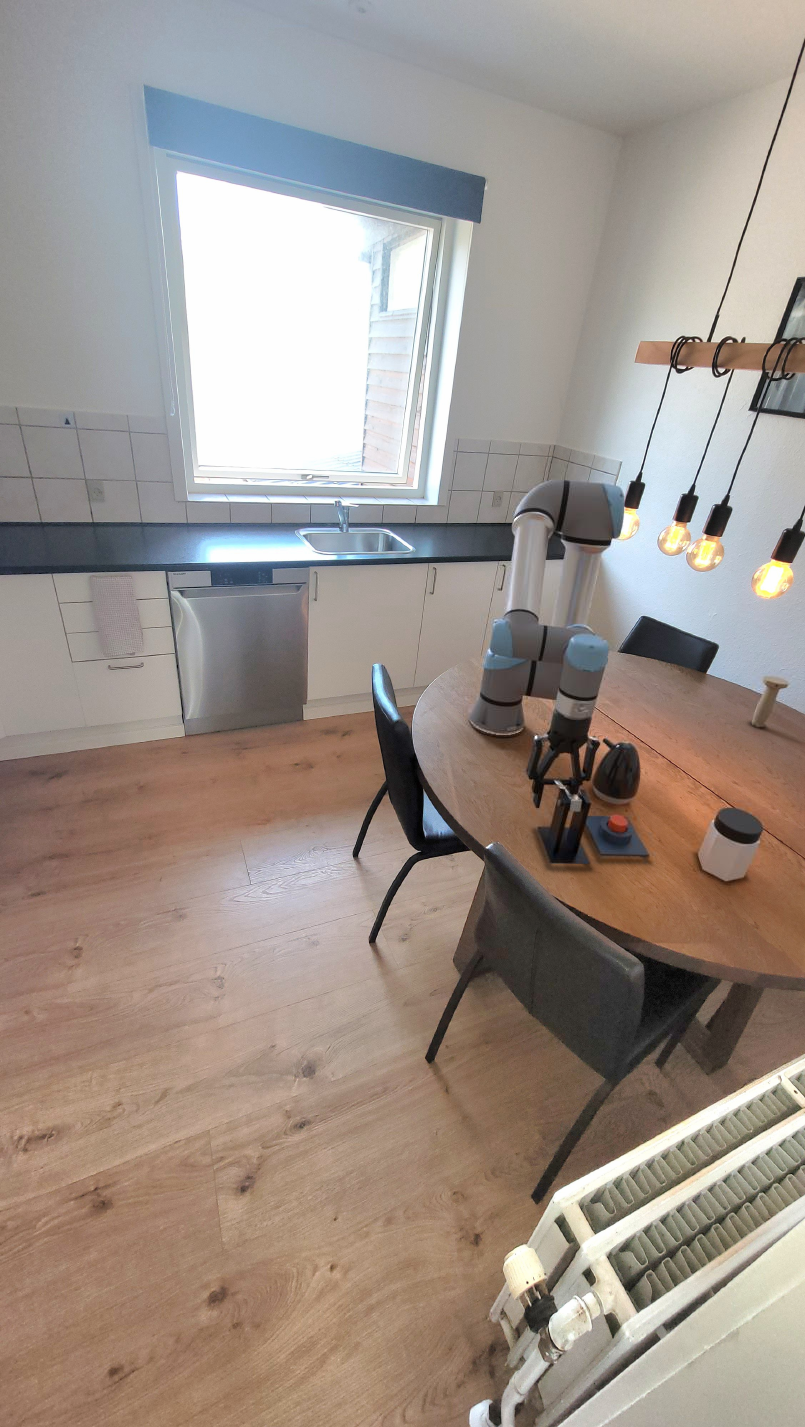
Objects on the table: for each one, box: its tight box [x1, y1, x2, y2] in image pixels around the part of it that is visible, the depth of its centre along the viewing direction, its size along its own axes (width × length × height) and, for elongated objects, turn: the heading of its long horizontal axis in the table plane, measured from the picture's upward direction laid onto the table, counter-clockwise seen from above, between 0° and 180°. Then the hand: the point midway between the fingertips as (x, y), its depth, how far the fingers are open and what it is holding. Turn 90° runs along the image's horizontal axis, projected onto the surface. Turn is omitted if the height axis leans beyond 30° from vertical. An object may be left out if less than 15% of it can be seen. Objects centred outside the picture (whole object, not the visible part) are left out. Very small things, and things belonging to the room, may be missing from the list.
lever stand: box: [536, 788, 592, 865], centre depth 117 cm, size 11×8×14 cm
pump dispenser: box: [591, 737, 641, 806], centre depth 134 cm, size 10×10×15 cm
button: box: [608, 814, 628, 833], centre depth 122 cm, size 4×4×2 cm
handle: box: [751, 675, 790, 728], centre depth 171 cm, size 5×6×15 cm
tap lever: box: [543, 777, 582, 813], centre depth 120 cm, size 13×6×2 cm, turn 2°
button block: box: [585, 815, 650, 857], centre depth 123 cm, size 12×10×4 cm
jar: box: [697, 807, 764, 882], centre depth 117 cm, size 9×8×12 cm
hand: (551, 804), depth 128 cm, fingers closed on tap lever, 6 cm apart
